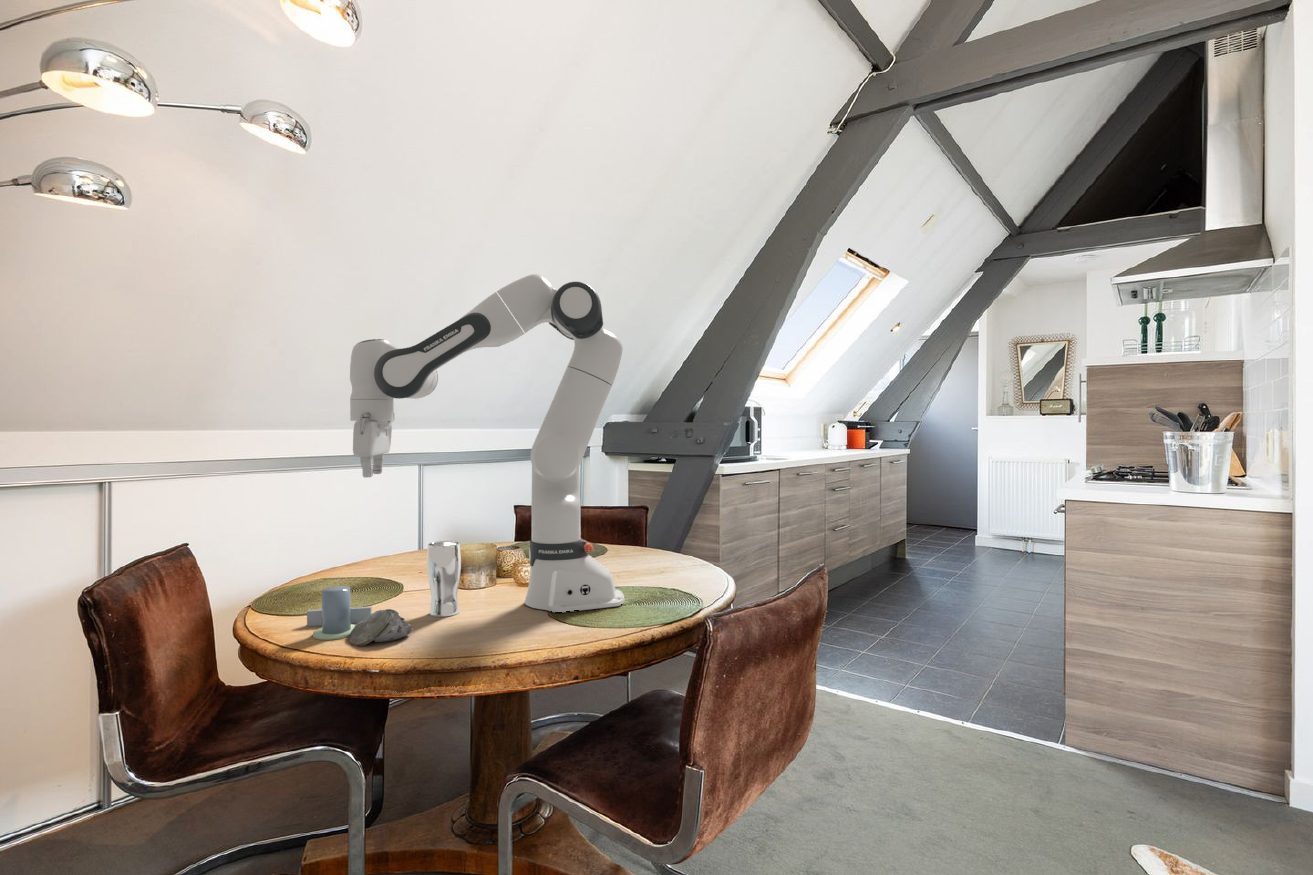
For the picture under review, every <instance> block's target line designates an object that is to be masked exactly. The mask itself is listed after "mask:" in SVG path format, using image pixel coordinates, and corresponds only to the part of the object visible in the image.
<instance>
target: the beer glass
mask: <svg viewBox="0 0 1313 875" xmlns="http://www.w3.org/2000/svg"><path fill="white" fill-rule="evenodd" d="M461 554H462V553H461V542H460V541H456V540H440V541H439V540H437V541H432V542H429V543H428V544H427V553H426V572H427V578H428V583H429V588H430V594H431V595H430V597H431V599H430V602H431V603H430V606H429V616H431V617H434V618H445V617H452V616H456V615H458V614H459V612H460V607H459V601H458V589H459V583H460V577H461V570H462V556H461Z"/></svg>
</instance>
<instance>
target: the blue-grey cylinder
mask: <svg viewBox="0 0 1313 875" xmlns="http://www.w3.org/2000/svg"><path fill="white" fill-rule="evenodd" d="M351 603H352V602H351V586H348V585H336V586H328V587H325V588H323V589H322V590H321V609H322V625H321V628H322V633H324V634H339V633H344V632H347V631H349V630H350V629H351V608H352V607H351V605H352V604H351Z"/></svg>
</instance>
